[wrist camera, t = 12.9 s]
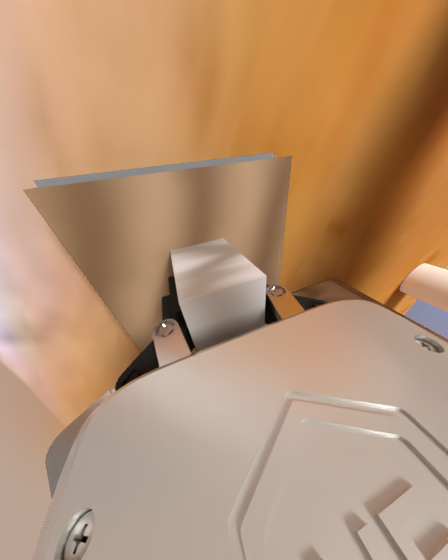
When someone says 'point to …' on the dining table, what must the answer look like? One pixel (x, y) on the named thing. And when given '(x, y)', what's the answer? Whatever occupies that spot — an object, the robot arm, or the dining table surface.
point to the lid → (177, 243)
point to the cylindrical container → (428, 285)
